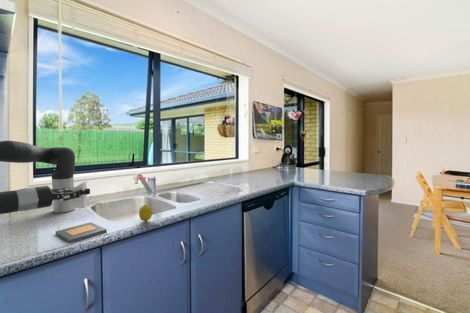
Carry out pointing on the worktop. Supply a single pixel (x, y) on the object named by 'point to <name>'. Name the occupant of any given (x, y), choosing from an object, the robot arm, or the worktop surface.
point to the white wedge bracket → (80, 201)
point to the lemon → (145, 213)
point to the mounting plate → (80, 232)
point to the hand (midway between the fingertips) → (86, 190)
